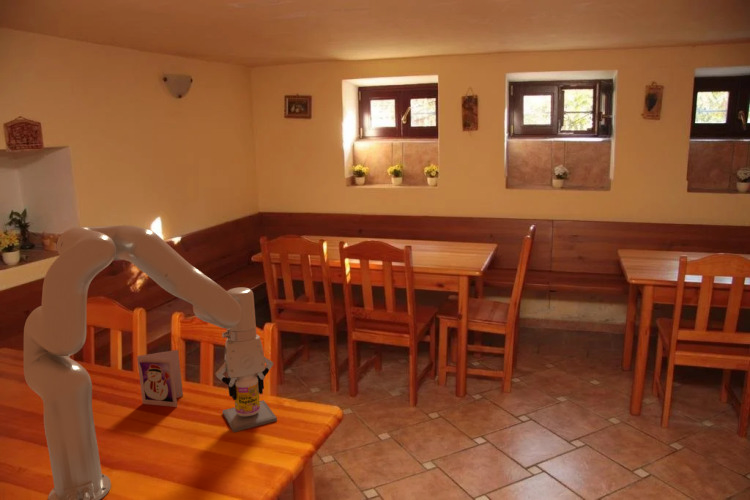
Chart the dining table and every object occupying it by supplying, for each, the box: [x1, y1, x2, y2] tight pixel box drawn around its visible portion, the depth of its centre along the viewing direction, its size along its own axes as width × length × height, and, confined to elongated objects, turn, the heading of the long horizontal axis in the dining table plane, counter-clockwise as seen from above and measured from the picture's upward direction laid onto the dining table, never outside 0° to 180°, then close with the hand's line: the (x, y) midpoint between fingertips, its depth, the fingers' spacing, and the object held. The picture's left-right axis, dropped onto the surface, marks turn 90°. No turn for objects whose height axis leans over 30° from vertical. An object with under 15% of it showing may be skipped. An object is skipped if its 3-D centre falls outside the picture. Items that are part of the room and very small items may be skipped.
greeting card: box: [136, 349, 184, 408], centre depth 176 cm, size 11×7×15 cm, turn 76°
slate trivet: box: [222, 399, 278, 433], centre depth 166 cm, size 12×12×1 cm
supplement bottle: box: [234, 374, 261, 417], centre depth 164 cm, size 7×7×13 cm
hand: (246, 394), depth 164 cm, fingers closed on supplement bottle, 6 cm apart
